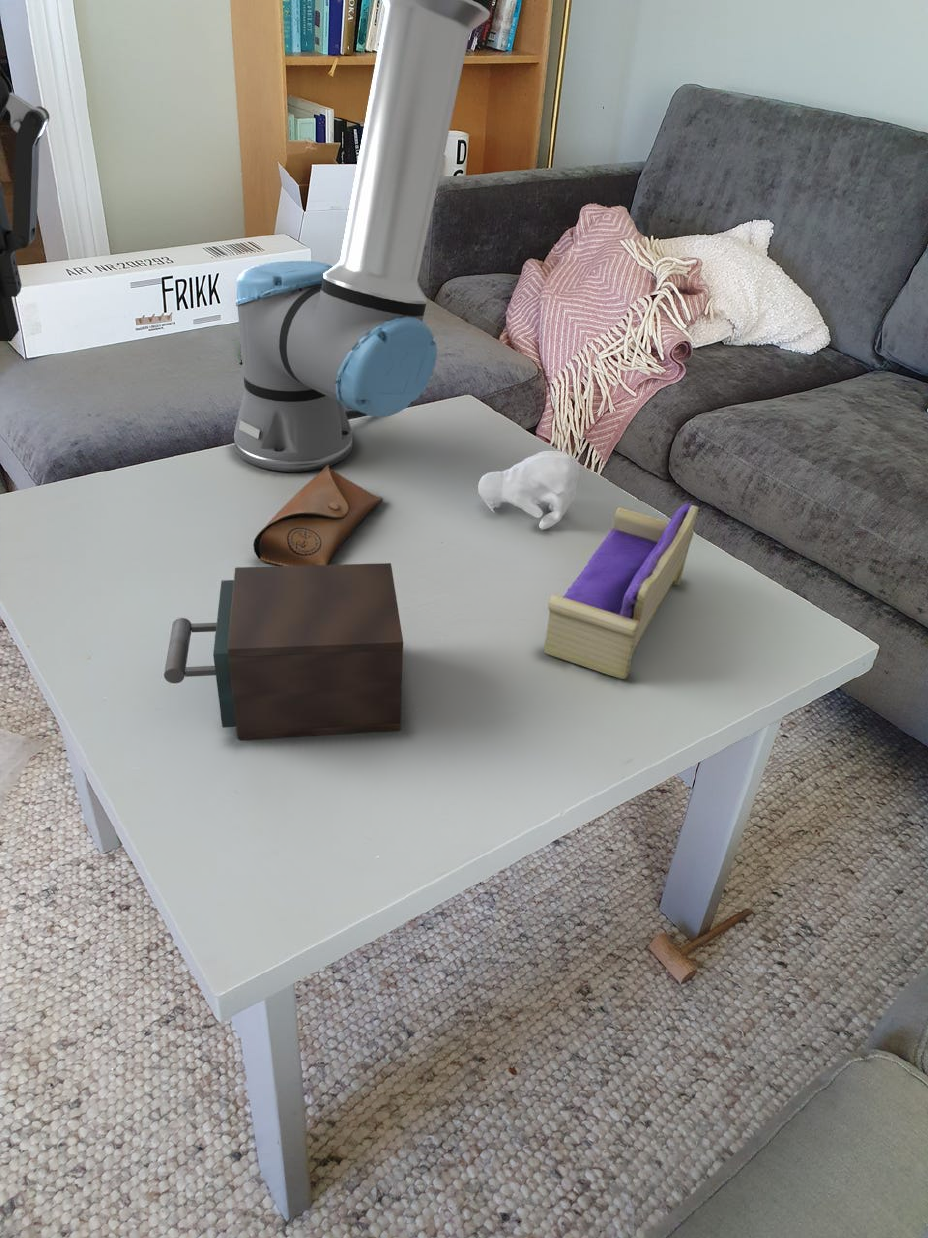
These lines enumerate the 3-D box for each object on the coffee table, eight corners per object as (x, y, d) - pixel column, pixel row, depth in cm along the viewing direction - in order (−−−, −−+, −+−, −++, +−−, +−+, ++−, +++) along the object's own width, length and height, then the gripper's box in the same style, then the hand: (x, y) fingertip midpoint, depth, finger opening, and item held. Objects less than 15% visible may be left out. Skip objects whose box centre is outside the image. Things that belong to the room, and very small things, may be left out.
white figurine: (573, 468, 101) (469, 456, 104) (570, 535, 106) (471, 522, 109) (585, 445, 106) (486, 434, 109) (581, 511, 111) (487, 499, 114)
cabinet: (237, 740, 76) (227, 649, 70) (243, 653, 85) (234, 567, 80) (400, 730, 78) (403, 642, 73) (389, 647, 87) (391, 562, 82)
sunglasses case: (326, 572, 96) (294, 518, 93) (276, 589, 99) (243, 537, 97) (386, 496, 110) (359, 448, 108) (340, 513, 114) (313, 466, 111)
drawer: (168, 731, 75) (155, 656, 71) (180, 652, 83) (169, 581, 79) (373, 719, 78) (373, 647, 73) (365, 644, 86) (365, 575, 81)
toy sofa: (608, 557, 103) (623, 475, 97) (683, 579, 100) (703, 497, 94) (538, 657, 88) (550, 567, 82) (624, 687, 85) (644, 596, 79)
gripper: (-209, -18, 57) (-96, 351, 71) (12, -4, 59) (80, 352, 73) (-162, -22, 63) (-66, 319, 77) (38, -9, 65) (96, 321, 79)
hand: (5, 335), depth 75 cm, fingers closed
